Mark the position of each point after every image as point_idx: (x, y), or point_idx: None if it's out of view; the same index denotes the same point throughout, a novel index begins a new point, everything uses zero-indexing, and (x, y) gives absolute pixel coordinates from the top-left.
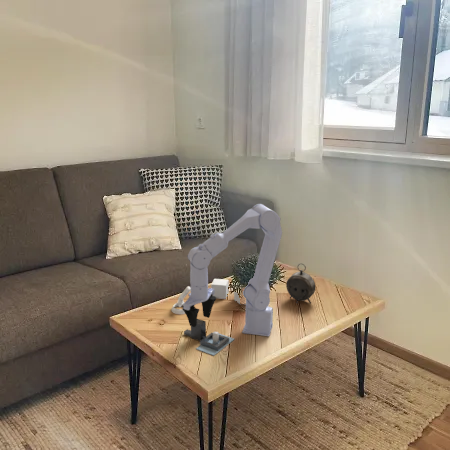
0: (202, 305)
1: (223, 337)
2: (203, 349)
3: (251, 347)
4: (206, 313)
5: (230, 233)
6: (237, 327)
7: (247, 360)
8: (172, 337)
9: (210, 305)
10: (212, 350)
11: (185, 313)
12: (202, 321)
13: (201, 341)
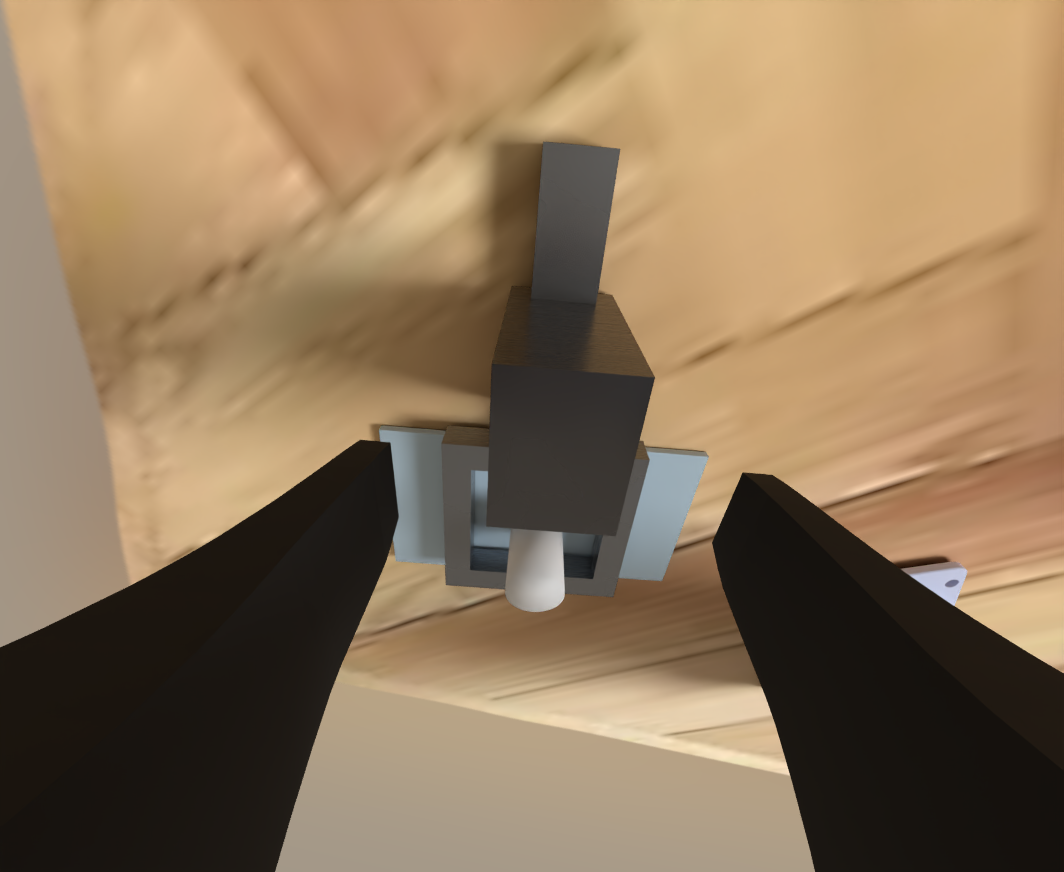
0: (891, 631)
1: (599, 567)
2: (405, 482)
3: (610, 660)
4: (748, 568)
5: None
6: (861, 532)
7: (478, 678)
8: (393, 18)
9: (812, 824)
10: (438, 533)
11: (68, 618)
12: (592, 507)
13: (448, 459)
